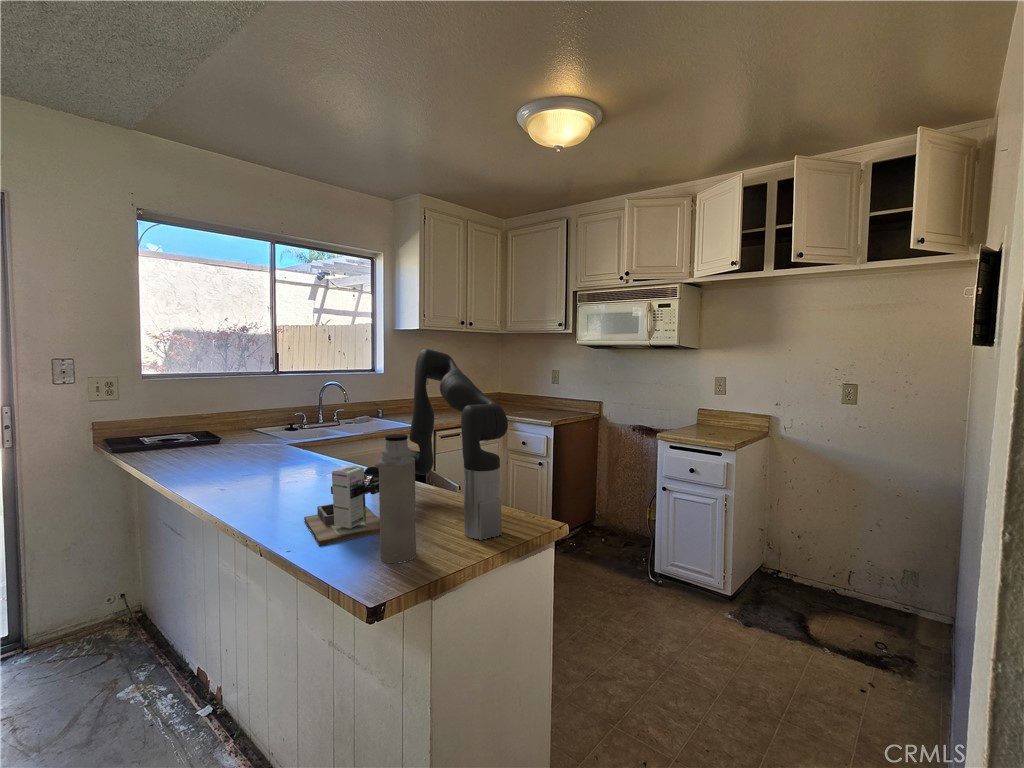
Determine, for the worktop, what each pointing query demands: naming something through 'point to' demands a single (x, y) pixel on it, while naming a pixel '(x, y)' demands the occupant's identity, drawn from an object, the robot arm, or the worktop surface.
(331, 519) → the board
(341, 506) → the syrup box
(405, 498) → the thermos bottle
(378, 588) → the worktop surface
